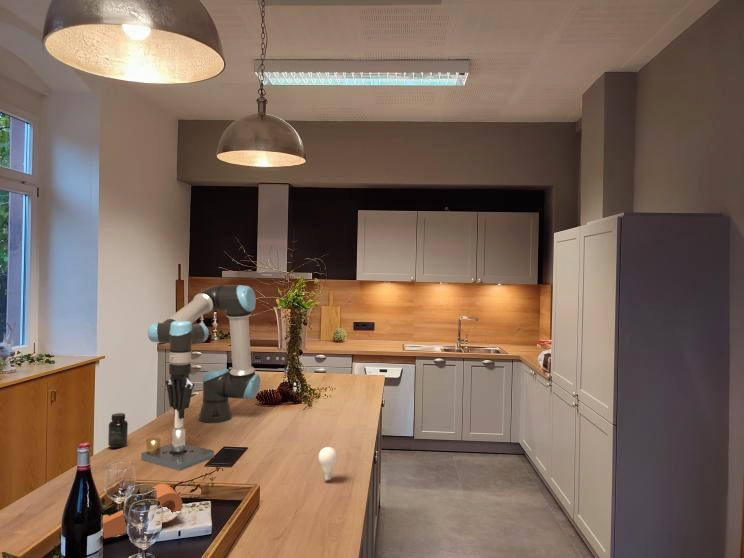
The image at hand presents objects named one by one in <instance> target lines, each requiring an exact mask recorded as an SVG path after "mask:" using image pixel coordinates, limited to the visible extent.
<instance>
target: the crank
mask: <svg viewBox="0 0 744 558" xmlns="http://www.w3.org/2000/svg"><path fill="white" fill-rule="evenodd" d="M152 488H156V490H157V499H158V500H159V501H160V506H161V505H162V506H163V507H167V508H168V509H170V510H171V512H172V513H173V512H176V511H181V512H182V510H183V500H182V498H181V496H180V495H179V494H178V493H177V492H176V491H175V490H174V489H173V488H172V487H171V486H170V485H169V484H166V483H159V484H156V485H154V486H152ZM103 532H104V539H108V538H111V537H115V536H119V535H124V534H127V533H126V522H125V518H124V514H123V509H121V510H120V511H117V512H114V513H113V514H110V515H109V514H104V515H103Z"/></svg>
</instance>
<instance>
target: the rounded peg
mask: <svg viewBox="0 0 744 558" xmlns="http://www.w3.org/2000/svg"><path fill="white" fill-rule="evenodd" d="M171 444H172V454H173V455H179V454H184V453H185V444H186V427H184V426H183V427H180V428H174V427H173V428H172V430H171Z"/></svg>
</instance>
